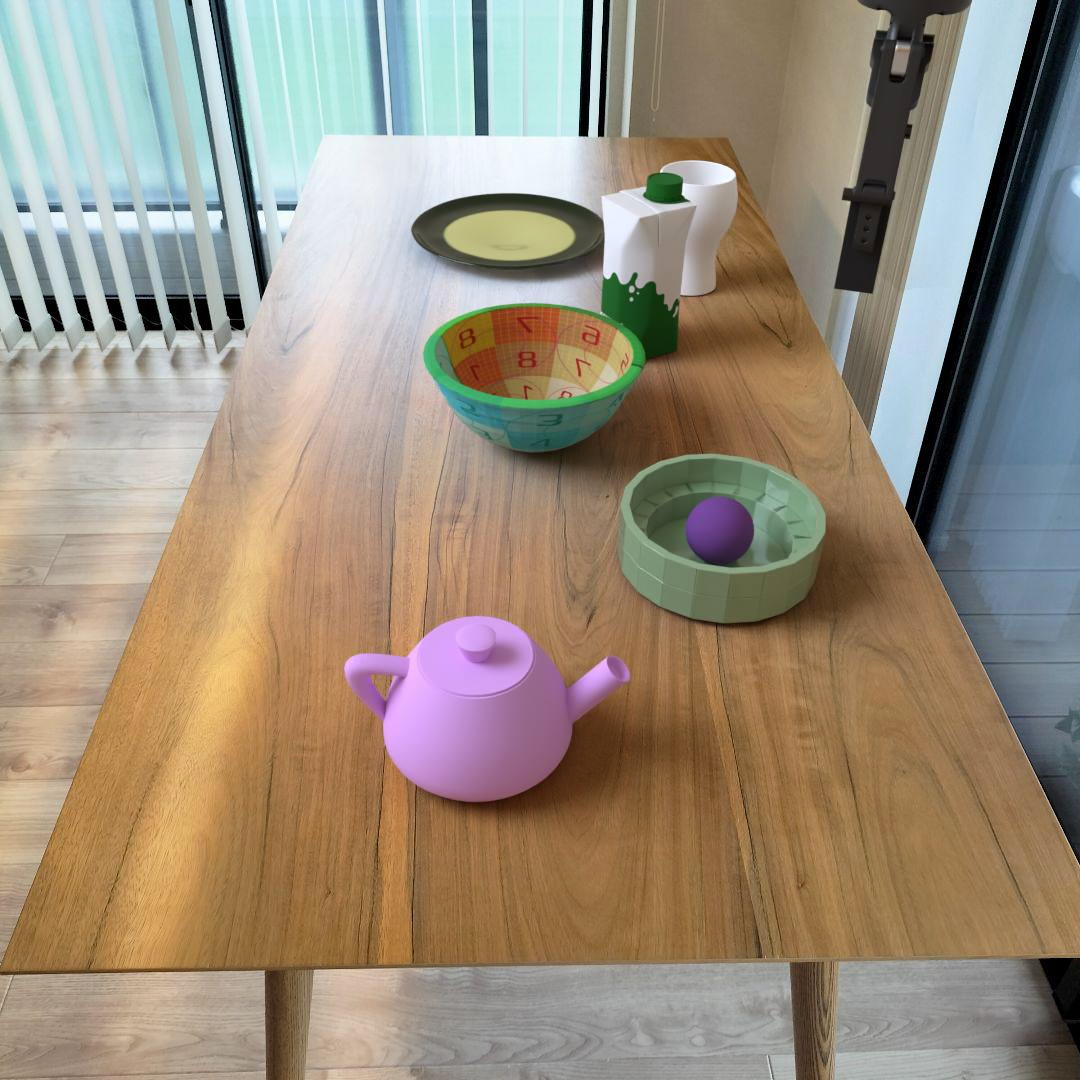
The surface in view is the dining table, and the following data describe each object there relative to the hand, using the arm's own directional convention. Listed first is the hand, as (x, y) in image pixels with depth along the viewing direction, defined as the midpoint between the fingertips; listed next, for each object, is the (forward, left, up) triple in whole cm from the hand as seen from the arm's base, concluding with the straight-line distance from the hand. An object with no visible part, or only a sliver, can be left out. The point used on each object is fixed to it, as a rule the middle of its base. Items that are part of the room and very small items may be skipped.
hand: (860, 254), depth 82 cm
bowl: (+31, +6, -29) cm, 42 cm away
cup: (+46, -35, -29) cm, 64 cm away
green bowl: (+4, +8, -28) cm, 30 cm away
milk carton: (+38, -17, -29) cm, 50 cm away
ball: (+4, +8, -28) cm, 29 cm away
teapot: (+1, +37, -29) cm, 47 cm away
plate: (+72, -26, -29) cm, 81 cm away
